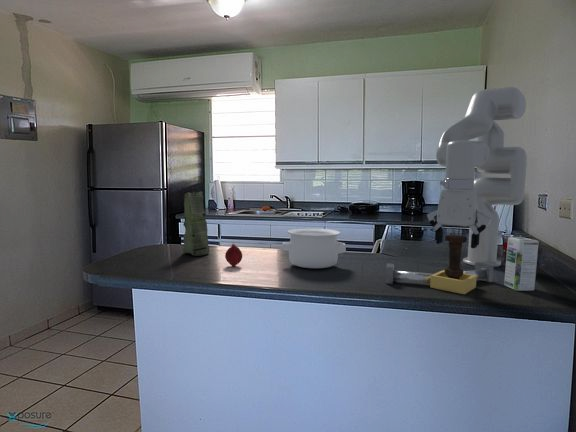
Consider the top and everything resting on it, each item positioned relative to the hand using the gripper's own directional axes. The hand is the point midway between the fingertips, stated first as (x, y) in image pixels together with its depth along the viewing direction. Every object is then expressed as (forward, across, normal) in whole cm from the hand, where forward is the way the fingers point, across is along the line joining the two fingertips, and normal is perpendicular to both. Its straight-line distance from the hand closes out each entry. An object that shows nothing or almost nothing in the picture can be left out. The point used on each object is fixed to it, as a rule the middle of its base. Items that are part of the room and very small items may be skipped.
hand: (456, 245), depth 113 cm
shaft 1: (+12, -10, -6) cm, 17 cm away
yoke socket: (+12, 0, -1) cm, 12 cm away
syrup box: (+13, +14, +12) cm, 22 cm away
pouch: (+12, -91, -26) cm, 95 cm away
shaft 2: (+12, +2, +8) cm, 15 cm away
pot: (+12, -45, -9) cm, 47 cm away
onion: (+12, -64, -29) cm, 71 cm away
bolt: (+12, 0, -1) cm, 12 cm away
